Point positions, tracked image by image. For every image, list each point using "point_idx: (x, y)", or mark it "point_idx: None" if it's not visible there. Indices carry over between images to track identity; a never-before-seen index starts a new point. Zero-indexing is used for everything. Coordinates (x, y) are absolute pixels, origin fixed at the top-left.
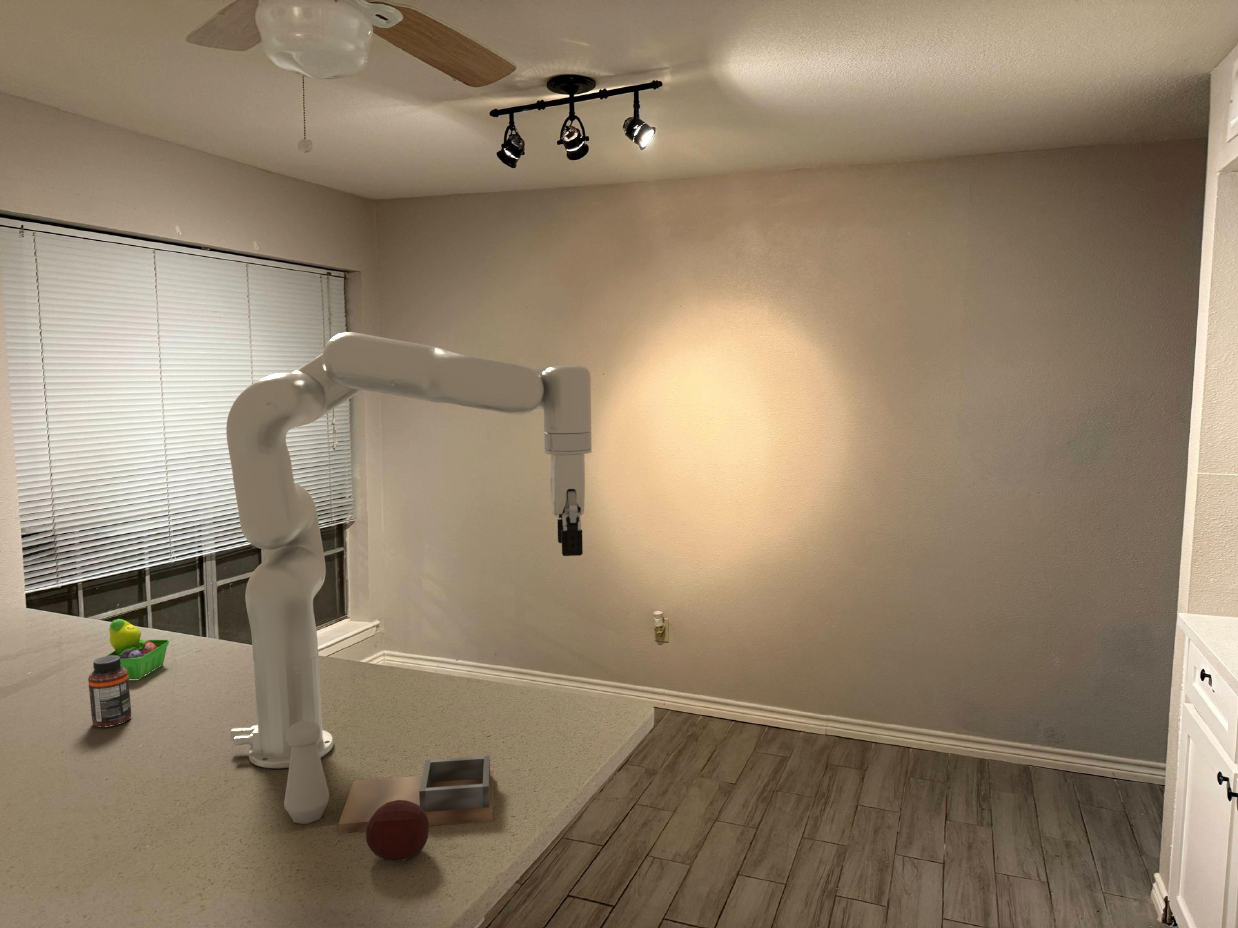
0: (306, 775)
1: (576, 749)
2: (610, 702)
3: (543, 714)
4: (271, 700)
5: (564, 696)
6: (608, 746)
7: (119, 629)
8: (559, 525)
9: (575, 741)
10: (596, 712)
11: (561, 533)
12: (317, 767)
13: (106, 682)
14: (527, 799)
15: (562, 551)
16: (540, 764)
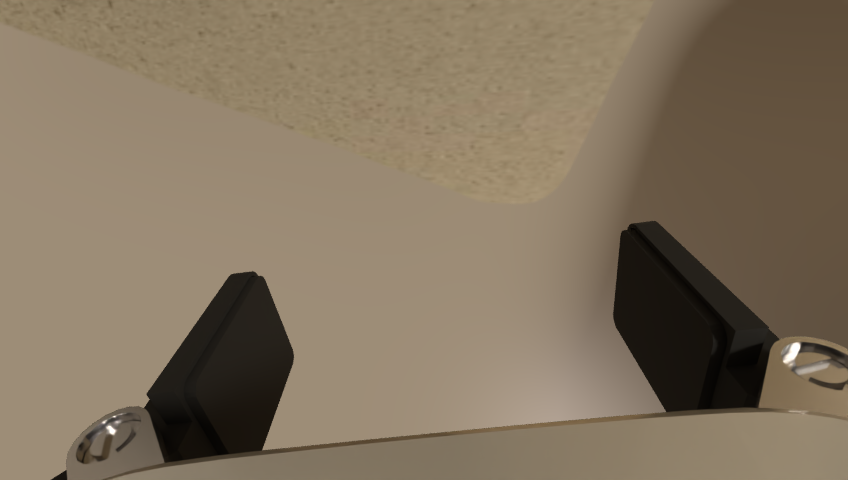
0: None
1: (361, 97)
2: (560, 151)
3: (520, 16)
4: None
5: (609, 56)
6: (375, 151)
7: None
8: (684, 309)
9: (393, 93)
10: (517, 126)
11: (647, 279)
12: None
13: None
14: (169, 23)
15: (222, 286)
16: (297, 33)
